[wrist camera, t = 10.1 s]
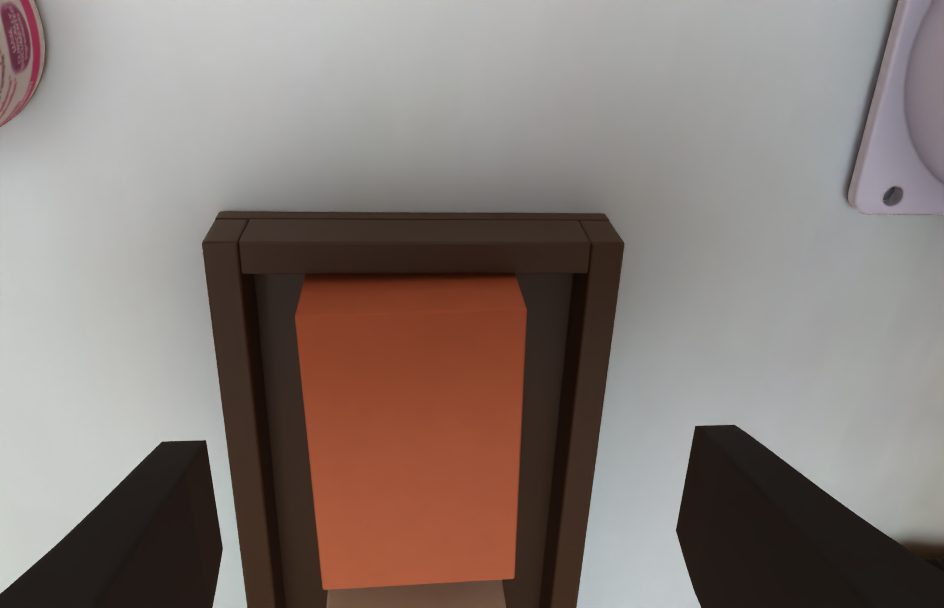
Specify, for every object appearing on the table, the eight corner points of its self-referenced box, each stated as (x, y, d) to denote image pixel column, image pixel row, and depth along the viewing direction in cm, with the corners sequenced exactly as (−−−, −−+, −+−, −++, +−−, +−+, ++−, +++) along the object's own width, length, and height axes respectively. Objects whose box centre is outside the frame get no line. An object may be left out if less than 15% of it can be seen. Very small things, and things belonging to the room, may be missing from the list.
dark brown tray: (605, 212, 20) (625, 242, 18) (545, 720, 29) (555, 773, 27) (218, 211, 19) (200, 241, 17) (277, 734, 28) (269, 791, 26)
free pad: (509, 254, 20) (527, 308, 17) (501, 503, 23) (514, 579, 21) (308, 259, 19) (294, 315, 17) (330, 511, 23) (322, 591, 20)
